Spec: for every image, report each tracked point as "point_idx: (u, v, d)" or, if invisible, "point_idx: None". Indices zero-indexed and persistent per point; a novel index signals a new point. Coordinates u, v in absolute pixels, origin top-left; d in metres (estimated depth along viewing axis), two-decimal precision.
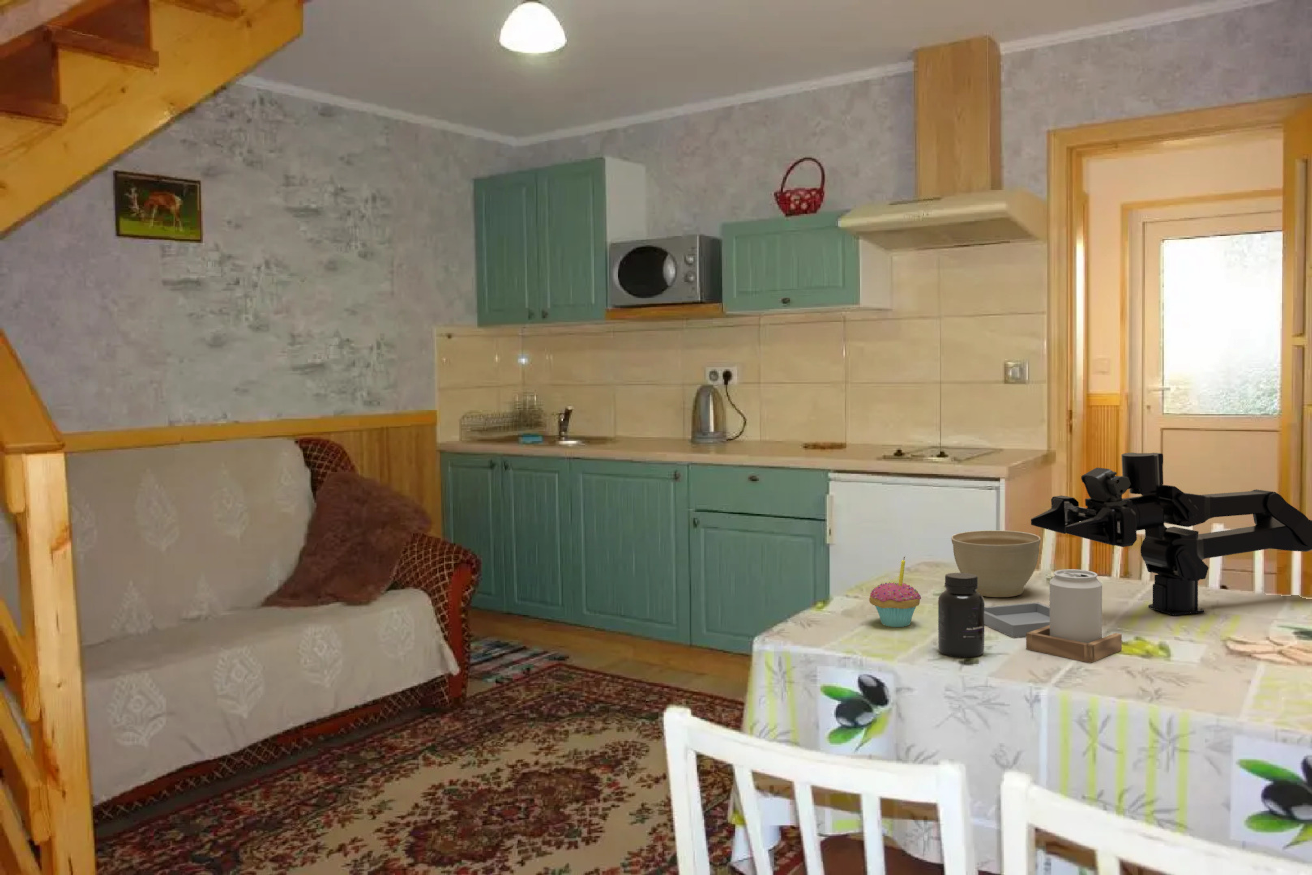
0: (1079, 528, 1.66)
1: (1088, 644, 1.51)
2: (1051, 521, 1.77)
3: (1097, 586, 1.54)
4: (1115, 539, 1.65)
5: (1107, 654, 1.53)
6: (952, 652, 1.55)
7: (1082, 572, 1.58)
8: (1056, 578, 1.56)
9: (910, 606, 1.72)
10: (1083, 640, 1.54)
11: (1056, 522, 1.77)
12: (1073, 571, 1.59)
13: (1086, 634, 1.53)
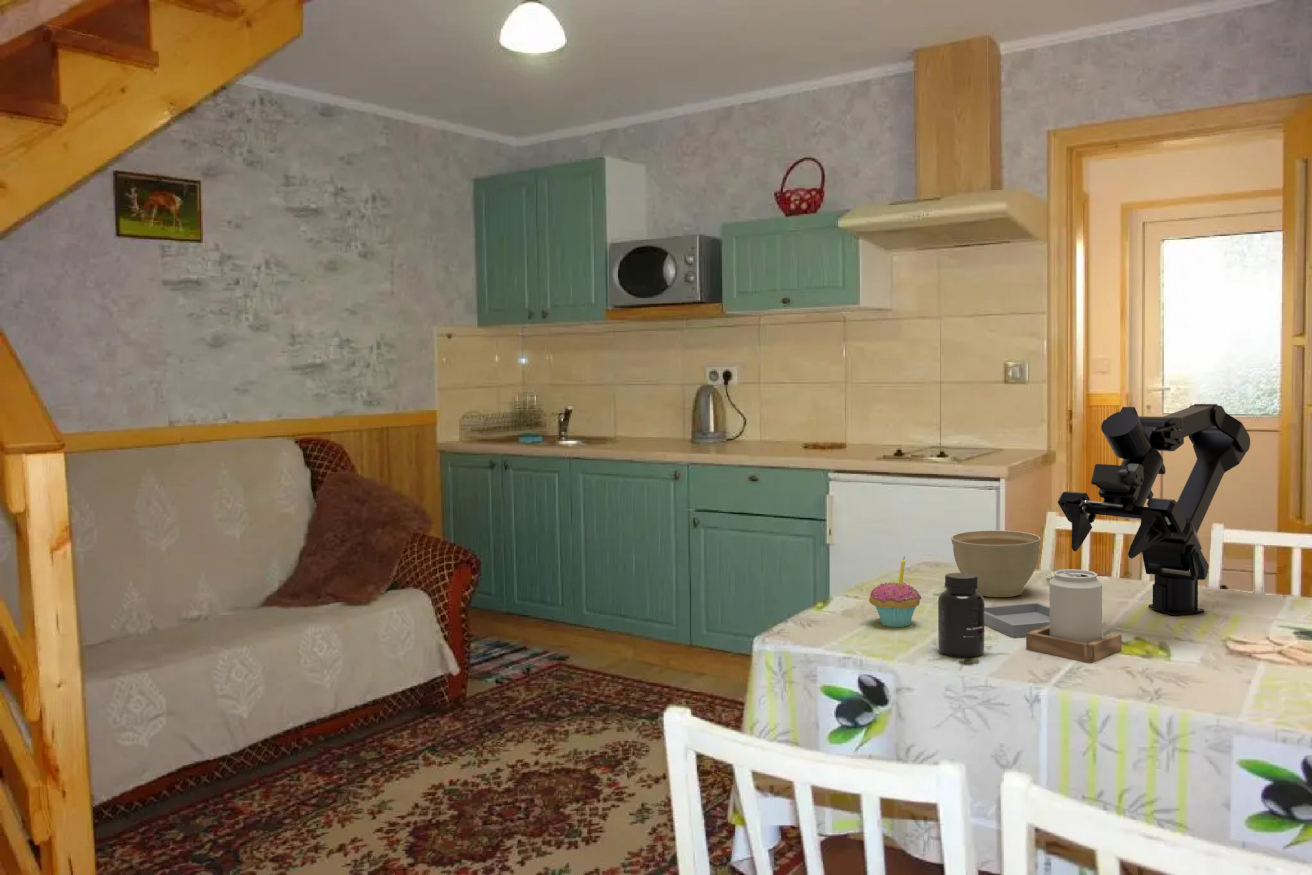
0: (1138, 545, 1.58)
1: (1088, 644, 1.51)
2: (1082, 531, 1.67)
3: (1097, 586, 1.54)
4: (1170, 532, 1.59)
5: (1107, 654, 1.53)
6: (952, 652, 1.55)
7: (1082, 572, 1.58)
8: (1056, 578, 1.56)
9: (910, 606, 1.72)
10: (1083, 640, 1.54)
11: (1084, 527, 1.68)
12: (1073, 571, 1.59)
13: (1086, 634, 1.53)
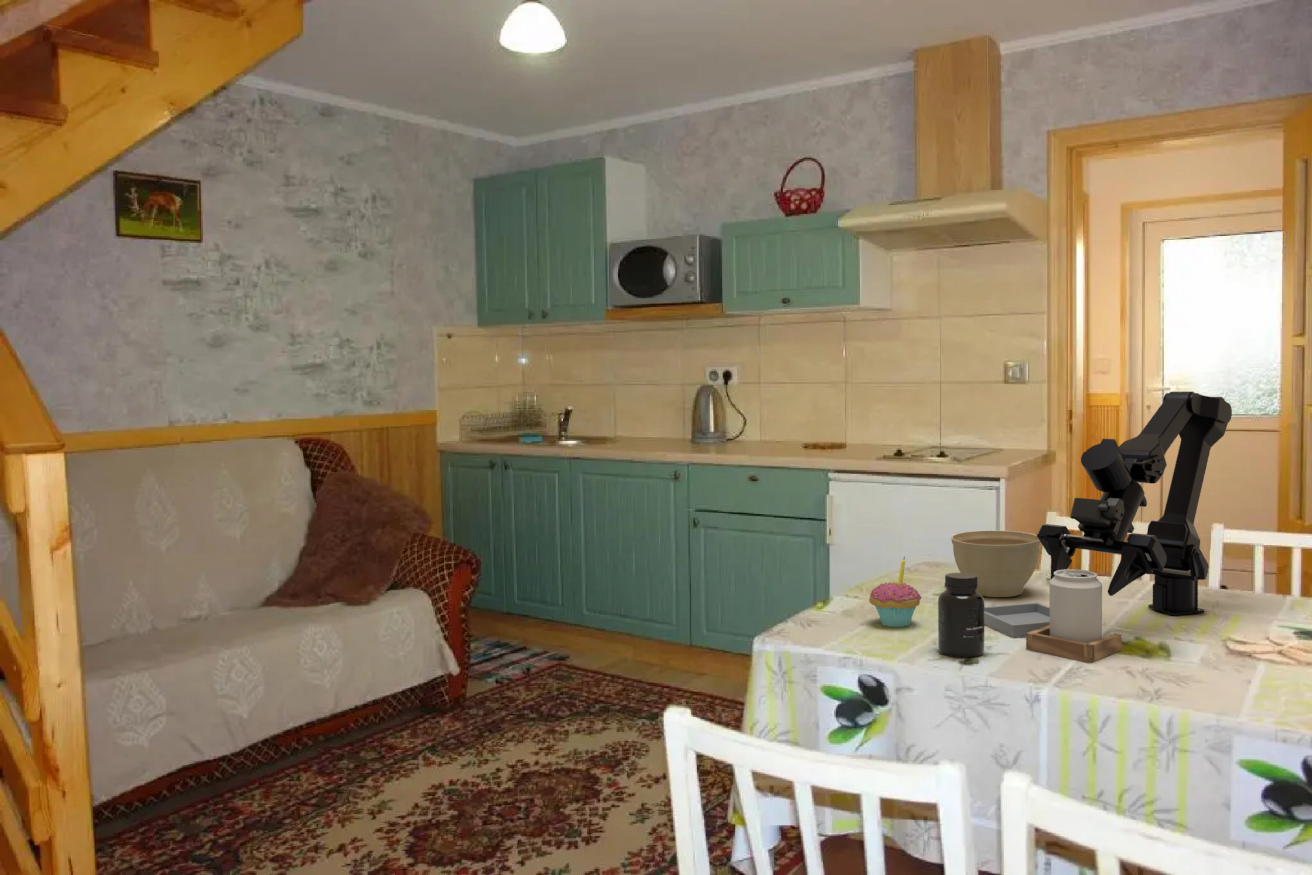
0: (1118, 582, 1.54)
1: (1088, 644, 1.51)
2: (1062, 566, 1.63)
3: (1097, 586, 1.54)
4: (1151, 568, 1.55)
5: (1107, 654, 1.53)
6: (952, 652, 1.55)
7: (1082, 572, 1.58)
8: (1056, 578, 1.56)
9: (910, 606, 1.72)
10: (1083, 640, 1.54)
11: (1064, 562, 1.64)
12: (1073, 571, 1.59)
13: (1086, 634, 1.53)
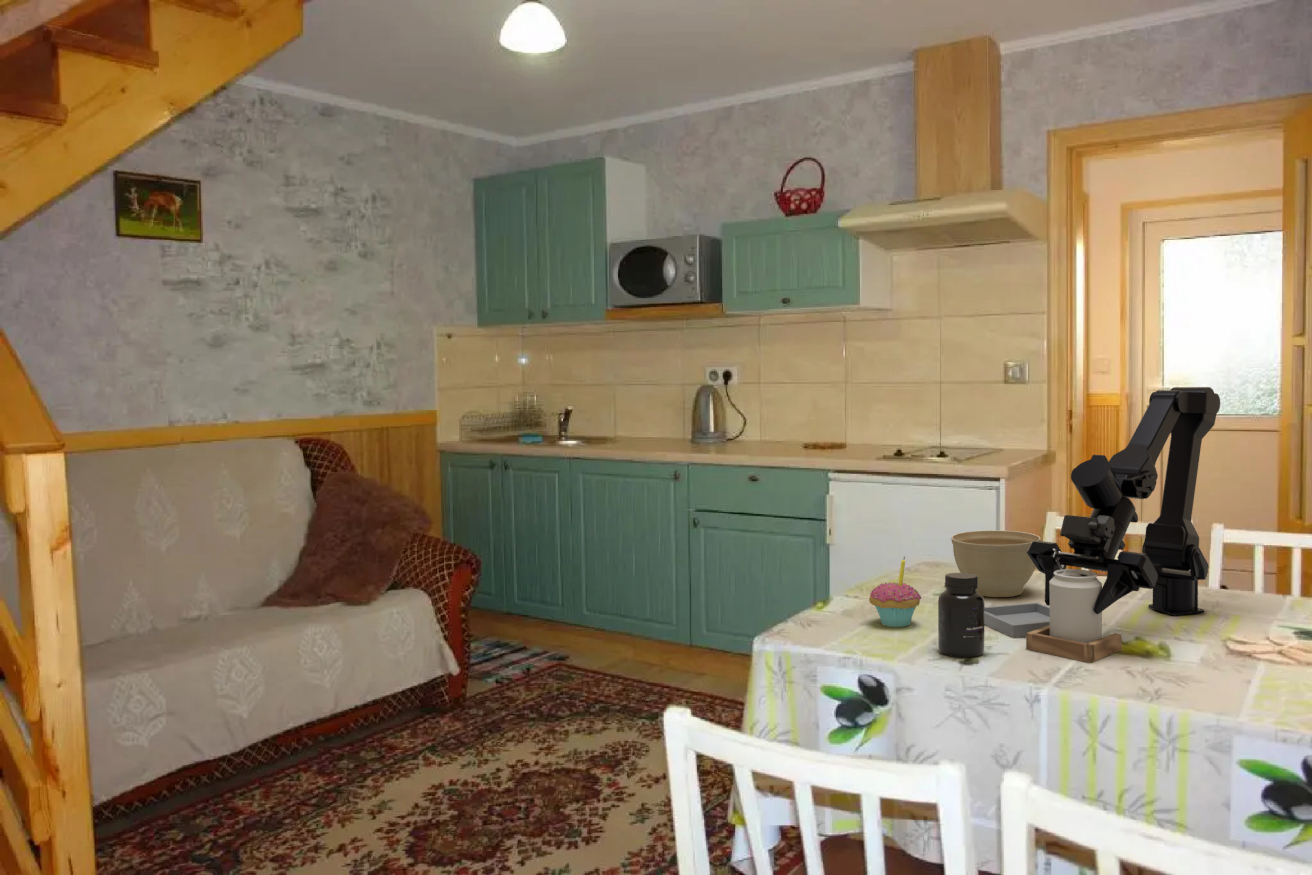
0: (1104, 600, 1.53)
1: (1088, 644, 1.51)
2: None
3: (1097, 586, 1.54)
4: (1137, 586, 1.54)
5: (1107, 654, 1.53)
6: (952, 652, 1.55)
7: (1082, 572, 1.58)
8: (1056, 578, 1.56)
9: (910, 606, 1.72)
10: (1083, 640, 1.54)
11: None
12: (1073, 571, 1.59)
13: (1086, 634, 1.53)
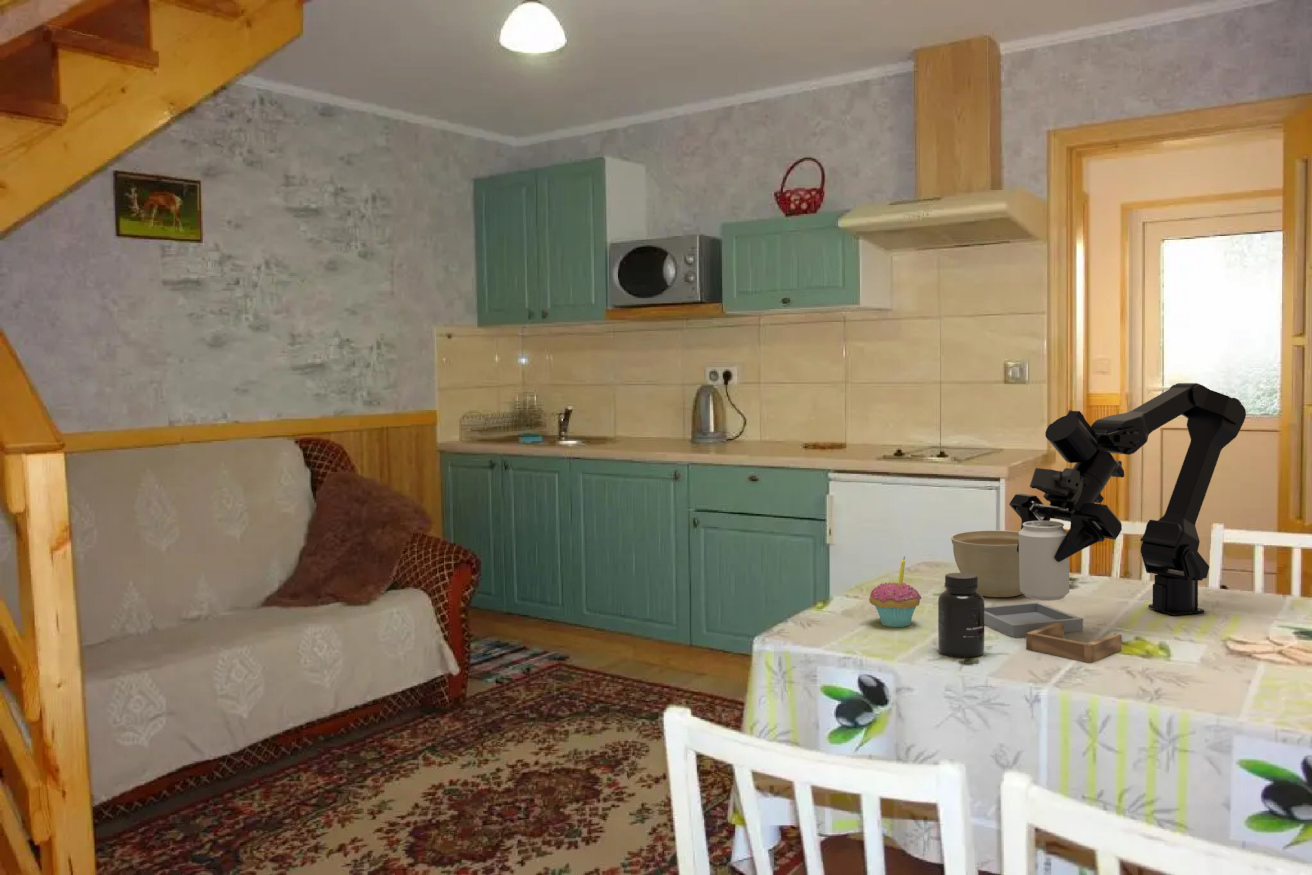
0: (1066, 549, 1.60)
1: (1088, 644, 1.51)
2: None
3: (1060, 536, 1.61)
4: (1101, 536, 1.59)
5: (1107, 654, 1.53)
6: (952, 652, 1.55)
7: (1053, 523, 1.65)
8: (1023, 528, 1.65)
9: (910, 606, 1.72)
10: (1045, 587, 1.61)
11: None
12: (1045, 522, 1.66)
13: (1048, 581, 1.61)
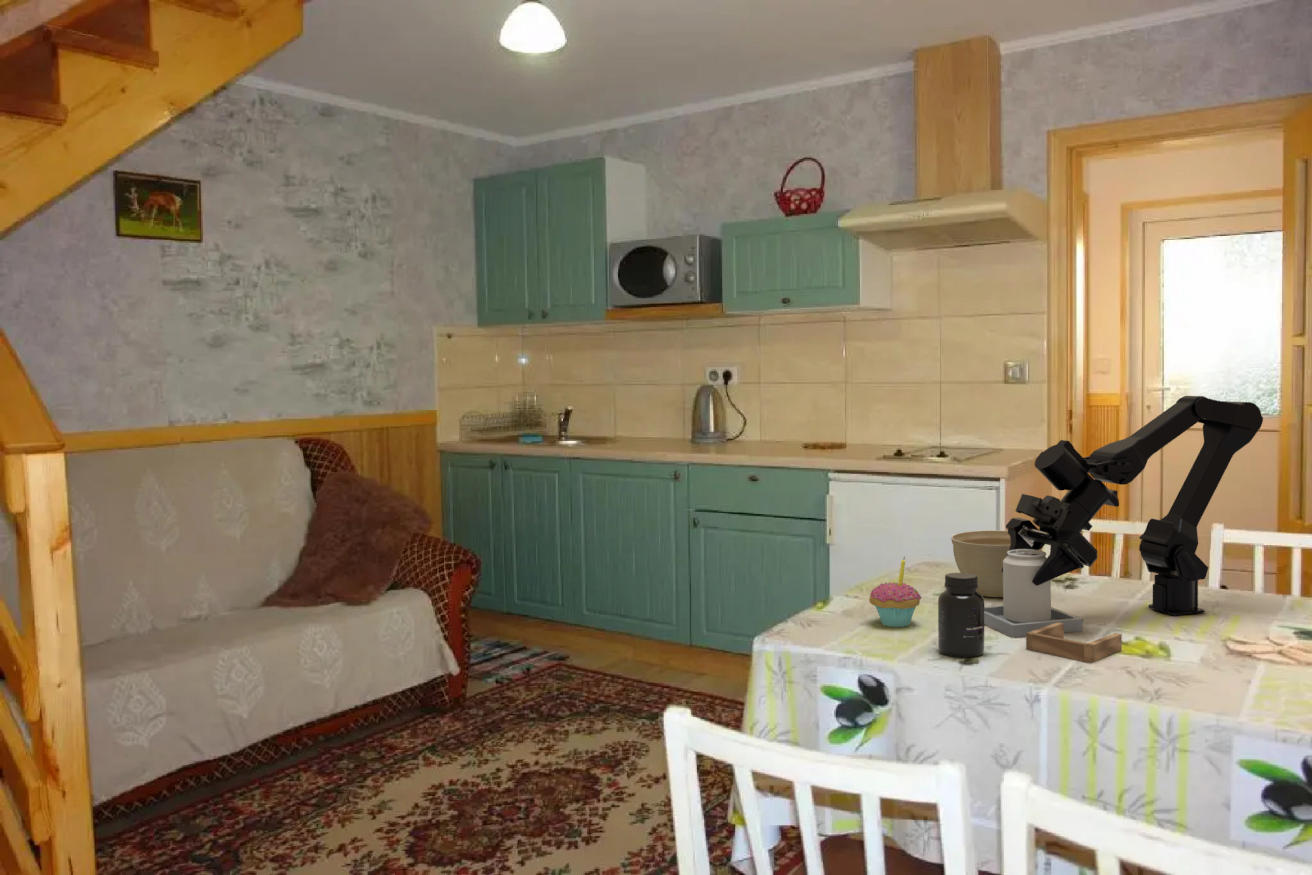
0: (1044, 573, 1.66)
1: (1088, 644, 1.51)
2: None
3: (1038, 565, 1.68)
4: (1080, 563, 1.65)
5: (1107, 654, 1.53)
6: (952, 652, 1.55)
7: (1039, 552, 1.72)
8: None
9: (910, 606, 1.72)
10: (1022, 612, 1.69)
11: None
12: (1033, 551, 1.73)
13: (1025, 607, 1.69)
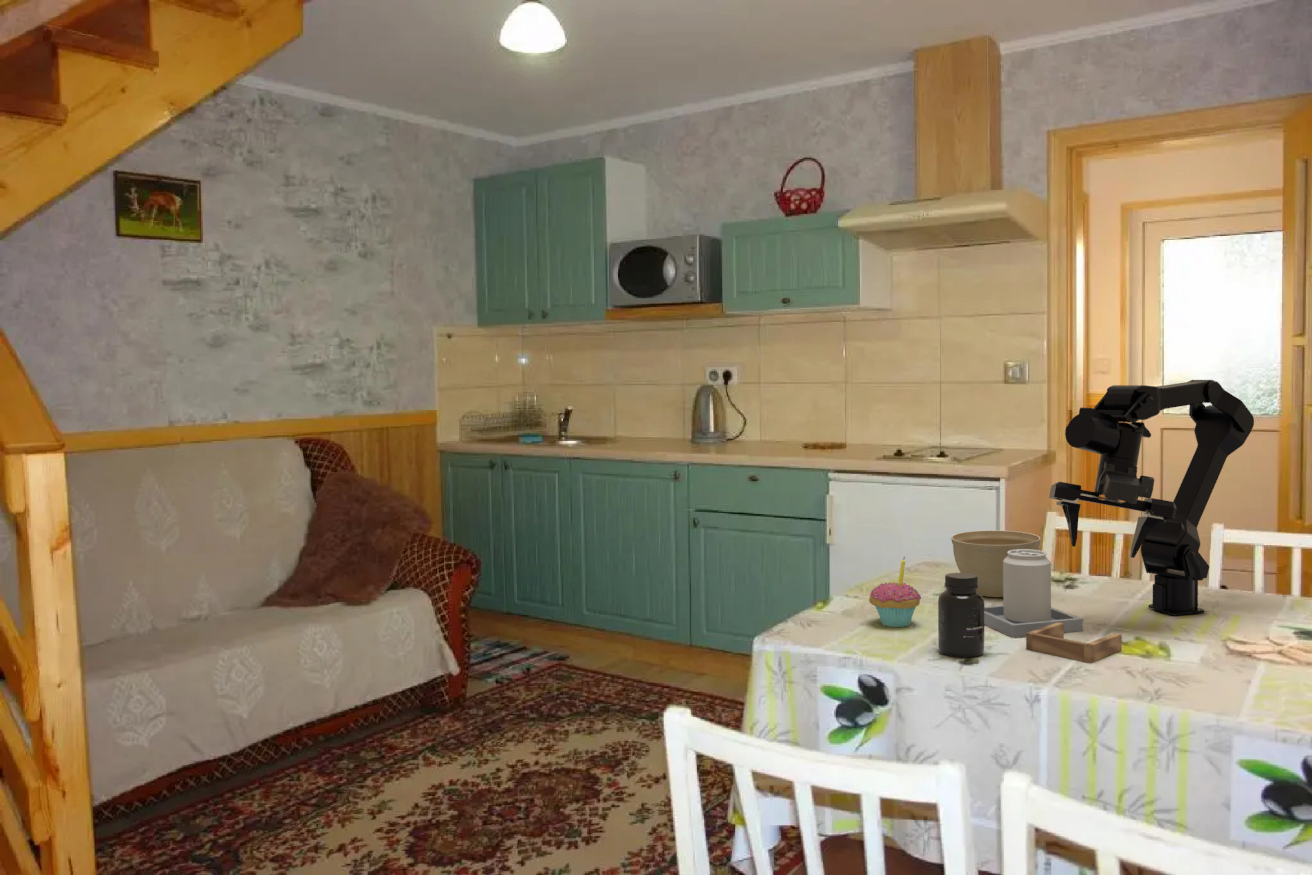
0: None
1: (1088, 644, 1.51)
2: None
3: (1038, 565, 1.68)
4: None
5: (1107, 654, 1.53)
6: (952, 652, 1.55)
7: (1039, 552, 1.72)
8: None
9: (910, 606, 1.72)
10: (1022, 612, 1.69)
11: None
12: (1033, 551, 1.73)
13: (1025, 607, 1.69)
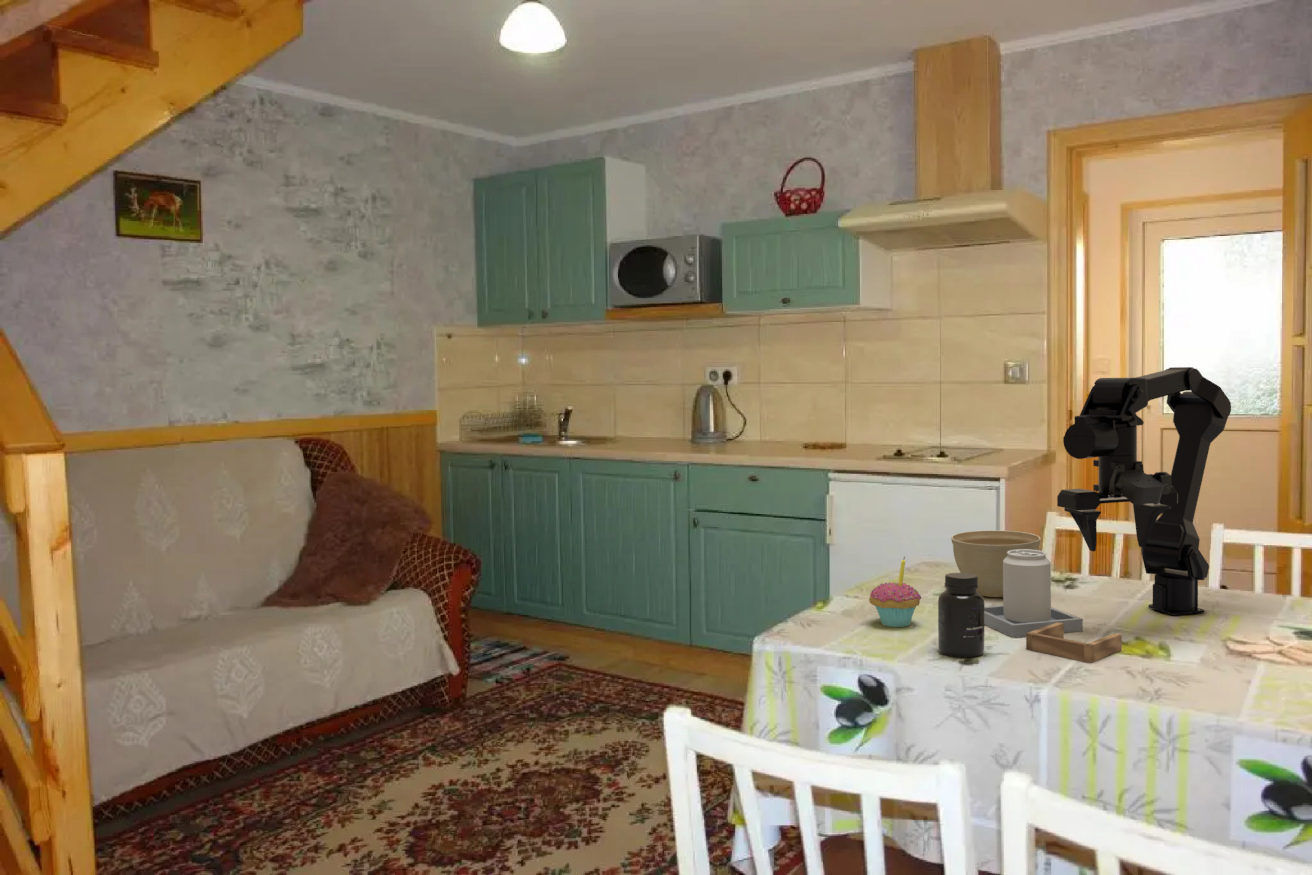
0: None
1: (1088, 644, 1.51)
2: None
3: (1038, 565, 1.68)
4: None
5: (1107, 654, 1.53)
6: (952, 652, 1.55)
7: (1039, 552, 1.72)
8: None
9: (910, 606, 1.72)
10: (1022, 612, 1.69)
11: None
12: (1033, 551, 1.73)
13: (1025, 607, 1.69)
